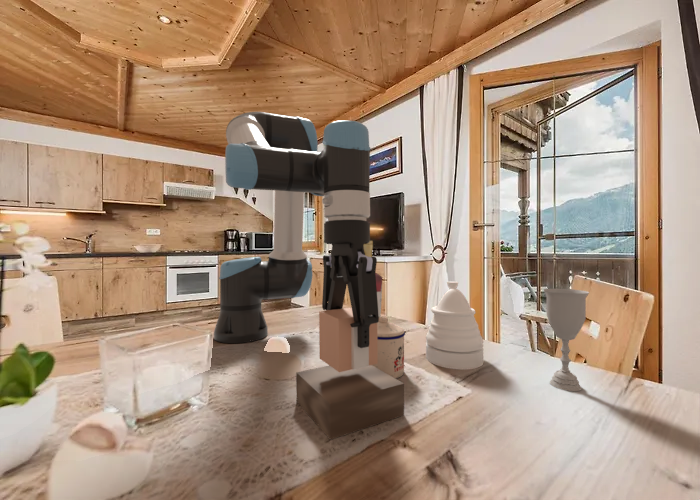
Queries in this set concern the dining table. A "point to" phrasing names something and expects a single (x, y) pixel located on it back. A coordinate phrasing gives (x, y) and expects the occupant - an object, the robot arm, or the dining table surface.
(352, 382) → the plinth
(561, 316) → the chalice
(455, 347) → the honey pot
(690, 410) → the dining table surface
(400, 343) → the teacup with lid
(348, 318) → the terracotta block
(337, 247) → the robot arm
